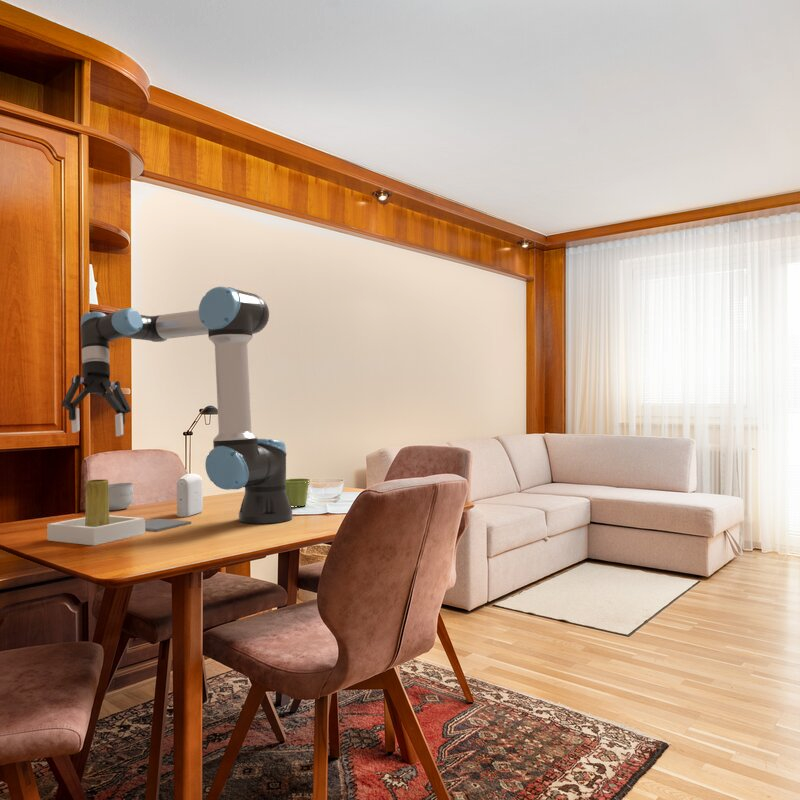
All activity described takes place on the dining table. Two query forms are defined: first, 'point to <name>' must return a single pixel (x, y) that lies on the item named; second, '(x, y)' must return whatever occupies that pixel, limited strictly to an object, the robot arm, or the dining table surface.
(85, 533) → the tub
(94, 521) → the vase
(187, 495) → the photo printer
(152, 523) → the mat
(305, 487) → the plant pot
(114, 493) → the teacup
